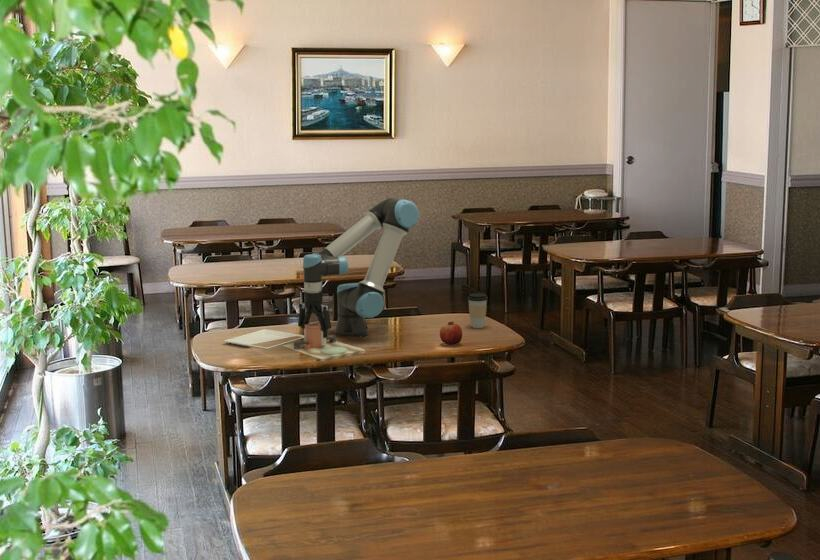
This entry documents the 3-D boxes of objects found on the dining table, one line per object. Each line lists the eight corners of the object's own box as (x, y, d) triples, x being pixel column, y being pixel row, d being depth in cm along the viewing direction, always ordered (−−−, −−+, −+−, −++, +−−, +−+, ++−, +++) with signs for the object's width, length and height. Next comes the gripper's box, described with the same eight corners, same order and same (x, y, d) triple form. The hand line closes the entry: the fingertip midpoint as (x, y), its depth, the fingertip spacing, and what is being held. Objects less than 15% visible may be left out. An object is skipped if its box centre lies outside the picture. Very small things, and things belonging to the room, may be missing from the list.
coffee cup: (474, 323, 456) (474, 292, 454) (492, 326, 451) (491, 294, 448) (463, 327, 449) (463, 295, 446) (481, 330, 443) (481, 297, 441)
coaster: (337, 346, 413) (337, 345, 413) (352, 351, 405) (352, 349, 404) (315, 351, 406) (315, 349, 406) (330, 356, 398) (330, 354, 398)
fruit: (458, 348, 411) (458, 325, 409) (436, 346, 415) (435, 323, 413) (466, 342, 421) (466, 319, 419) (444, 341, 424) (443, 318, 423)
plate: (264, 333, 447) (264, 328, 447) (308, 340, 432) (308, 335, 432) (223, 345, 426) (222, 340, 426) (267, 352, 411) (267, 348, 411)
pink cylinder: (316, 340, 424) (315, 319, 422) (332, 342, 420) (331, 321, 418) (297, 347, 412) (296, 325, 411) (314, 349, 408) (313, 327, 407)
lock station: (325, 340, 430) (324, 321, 429) (365, 352, 407) (365, 333, 406) (281, 348, 417) (281, 329, 415) (321, 361, 393) (320, 342, 392)
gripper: (287, 291, 414) (290, 343, 418) (329, 294, 404) (330, 348, 408) (298, 288, 420) (300, 339, 424) (339, 291, 410) (340, 344, 414)
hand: (315, 344), depth 416 cm, fingers closed on pink cylinder, 8 cm apart
